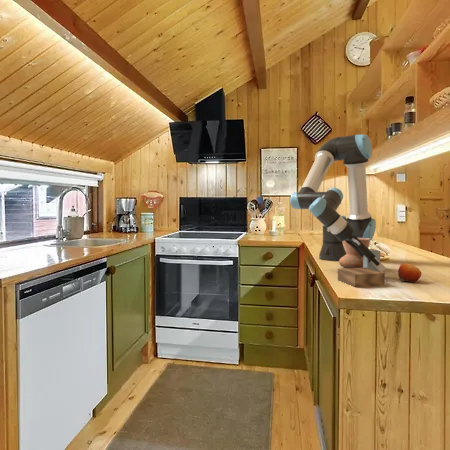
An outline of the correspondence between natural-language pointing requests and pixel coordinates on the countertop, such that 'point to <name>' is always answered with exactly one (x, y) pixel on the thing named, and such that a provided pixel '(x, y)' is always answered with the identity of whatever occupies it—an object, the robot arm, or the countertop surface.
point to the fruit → (409, 273)
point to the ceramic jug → (353, 255)
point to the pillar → (369, 264)
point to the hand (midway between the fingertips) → (380, 268)
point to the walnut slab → (361, 277)
